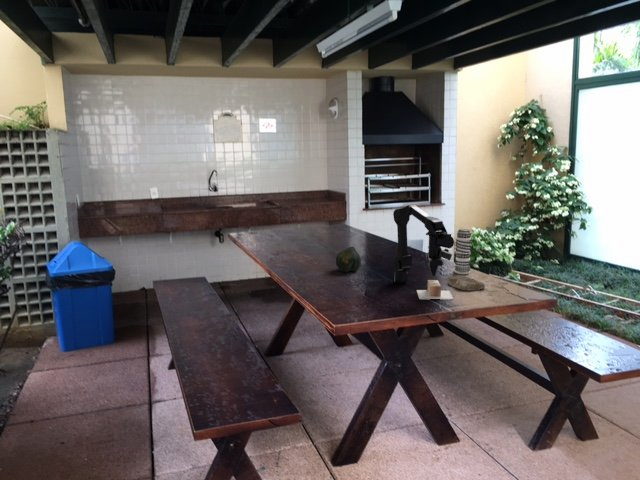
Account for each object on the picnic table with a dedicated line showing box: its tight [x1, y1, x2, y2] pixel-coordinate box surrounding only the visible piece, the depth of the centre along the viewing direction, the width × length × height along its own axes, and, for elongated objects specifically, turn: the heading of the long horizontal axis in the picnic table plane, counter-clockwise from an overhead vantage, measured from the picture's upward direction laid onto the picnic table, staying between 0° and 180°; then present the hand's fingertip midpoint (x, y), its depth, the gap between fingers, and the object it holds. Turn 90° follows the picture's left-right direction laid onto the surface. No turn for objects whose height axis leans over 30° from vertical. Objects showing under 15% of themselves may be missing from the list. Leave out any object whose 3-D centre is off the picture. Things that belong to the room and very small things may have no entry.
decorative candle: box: [454, 228, 473, 275], centre depth 303 cm, size 9×9×25 cm
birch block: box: [427, 279, 442, 297], centre depth 261 cm, size 5×5×12 cm
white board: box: [416, 289, 454, 301], centre depth 259 cm, size 16×14×1 cm
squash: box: [335, 246, 362, 273], centre depth 310 cm, size 14×15×15 cm
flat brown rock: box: [447, 274, 486, 292], centre depth 276 cm, size 14×5×20 cm
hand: (433, 275), depth 263 cm, fingers closed
